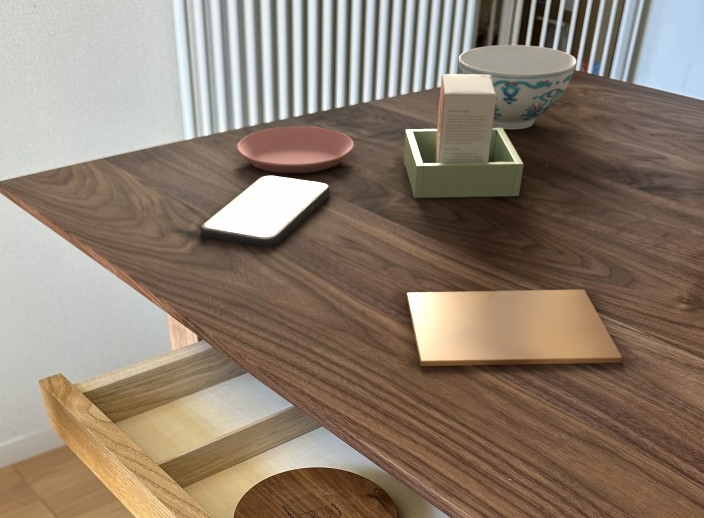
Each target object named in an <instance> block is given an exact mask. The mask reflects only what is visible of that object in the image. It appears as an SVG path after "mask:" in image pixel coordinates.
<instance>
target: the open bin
mask: <svg viewBox="0 0 704 518" xmlns="http://www.w3.org/2000/svg"><path fill="white" fill-rule="evenodd" d="M436 136H437V128H421V129H420V128H419V129H416V128H415V129H409V128H408V129H405V132H404V148H403V149H404V150H403V166H405V169H406V172H407V177H408V180H409V183H410V187H411V190H412V195H413V197H414V199H420V198H422V199H423V198H424V199H427V198H428V199H429V198H477V197H478V198H483V197H485V198H487V197H519V196H520V190H521V183H522V177H523V170H524V162H523V160H522V159H521V157H520V155H519V154H518V151H517V150H516V148H515V146H514V145H513V143H512V141H511V140H510V138H509V137H508V135H507V132H506V131H505V129H503V128H495V127H492V134H491V142H490V149H489V157H488V162H475V163H434V158H435V147H436Z"/></svg>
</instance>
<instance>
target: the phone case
mask: <svg viewBox="0 0 704 518" xmlns="http://www.w3.org/2000/svg"><path fill="white" fill-rule="evenodd" d="M330 194H331V193H330V186H329V184H327V183H324V182H320V181H319V182H318V181H313V180H305V179H299V178H291V177H283V176H276V175H264V176H261V177H259V178H258V179H257V180H255V181H254V182H253V183H252V184H250V185H249V186H248V187H247V188H246V189H244V190H243V191H242V192H241V193H239V194H238V195H237V196H235V197H234V198H233V199H232V200H231V201H230V202H228V203H226V205H225V206H223V207H222V208H221V209H220V210H219V211H216V213H215V214H213V215H212V216H211V217H210V218H208V219H207V220H206V221H204V222H203V223H202V224H201V225H200V235H201V236H202V237H204V238H208V239H214V240H220V241H225V242H231V243H237V244H243V245H249V246H256V247H259V248H260V247H261V248H268V247H274V246H276V245H278V244H279V243H280V242H281V241H283V239H284V238H286V236H288V235H289V234H290V233H291V232H292V231H293V230H294V229H295V228H297V227H298V226H299V225H300V224H301V223H302V222H303V221H304V220H305V219H307V218H308V217H309V216H310V215H311V214H313V212H315V210H316V209H318V208H319V207H320V206H321V205H322V204H323V203H324V202H326V200H328V199H329V198H330Z"/></svg>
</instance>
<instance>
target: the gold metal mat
mask: <svg viewBox="0 0 704 518" xmlns="http://www.w3.org/2000/svg"><path fill="white" fill-rule="evenodd" d="M405 299H406V302H407V309H408V313H409V317H410V323H411V327H412V332H413V337H414V341H415V346H416V351H417V356H418V360H419V366H420V367H444V366H450V367H451V366H496V365H497V366H501V365H502V366H504V365H505V366H506V365H507V366H508V365H556V364H557V365H560V364H562V365H565V364H567V365H568V364H616V363H618V364H619V363H622V360H623V356H622V354H621V353H620V351H619V349H618V348H617V346H616V344H615V342H614V340H613V339H612V337H611V335H610V333H609V331H608V329H607V328H606V326H605V324H604V322H603V321H602V319H601V316H600V315H599V313H598V312H597V309H596V308H595V306H594V304H593V302H592V301H591V299H590V297H589V295H588V294H587V292H586V289H540V290H539V289H538V290H537V289H533V290H528V289H527V290H481V291H480V290H479V291H477V290H476V291H475V290H473V291H428V292H427V291H426V292H423V291H422V292H420V291H419V292H416V291H415V292H406V294H405Z"/></svg>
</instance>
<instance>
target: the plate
mask: <svg viewBox="0 0 704 518" xmlns="http://www.w3.org/2000/svg"><path fill="white" fill-rule="evenodd" d="M354 145H355V144H354V141H353V140H352V138H351V137H350V136H348V135H347V134H345V133H343V132H340V131H337V130H333V129H329V128H326V127H325V128H324V127H318V126H305V125H304V126H303V125H301V126H300V125H293V126H292V125H291V126H279V127H272V128H267V129H266V128H265V129H262V130H259V131H255V132H252V133H250V134H248V135H246V136H244V137H243V138H241V139H240V140H239V141H238V143H237V146H236V150H237V152H238V153H239V155H241V156H242V158H244V159H245V161H247V162H248V163H250V164H251V165H252V166H253V167H254V168H255V169H256V168H258V169H259V170H263V171H267V172H272V173H277V174H307V173H316V172H319V171H320V172H321V171H324V170H328V169H331V168H334V167H337V166H338V165H339V164H340V163H341V162H342V161H343V160H344V159H345V158H346V157H348V156H349V154H351V152H352V151H353V150H354V147H355V146H354Z"/></svg>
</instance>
